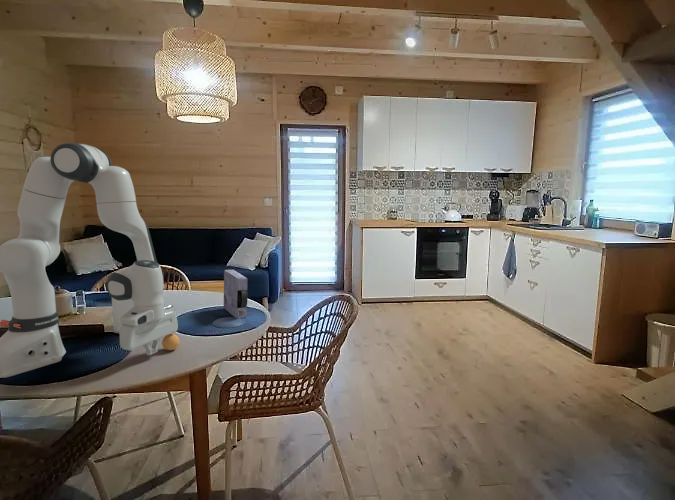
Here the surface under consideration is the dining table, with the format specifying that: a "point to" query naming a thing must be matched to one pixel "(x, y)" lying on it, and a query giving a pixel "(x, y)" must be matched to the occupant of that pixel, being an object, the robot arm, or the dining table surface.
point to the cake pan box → (235, 293)
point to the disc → (228, 322)
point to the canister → (120, 311)
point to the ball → (170, 342)
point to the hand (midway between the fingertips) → (152, 353)
